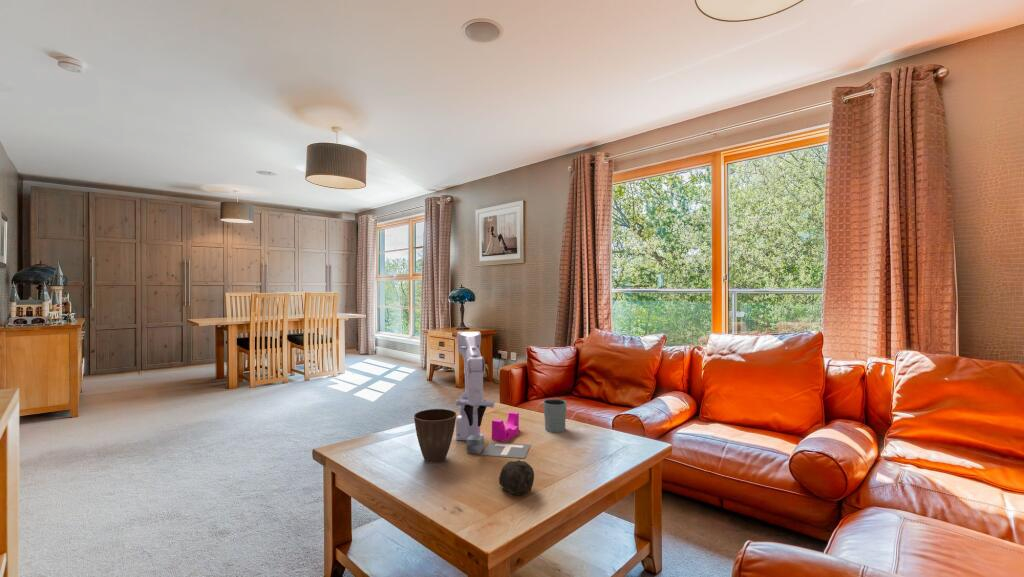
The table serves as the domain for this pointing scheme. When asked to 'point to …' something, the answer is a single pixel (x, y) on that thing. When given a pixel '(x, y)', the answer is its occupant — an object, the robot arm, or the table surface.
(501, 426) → the toy block
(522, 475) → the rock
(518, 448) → the board
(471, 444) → the gray cube
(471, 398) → the robot arm
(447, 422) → the plant pot
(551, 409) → the gray cup
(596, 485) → the table surface
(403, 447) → the table surface
